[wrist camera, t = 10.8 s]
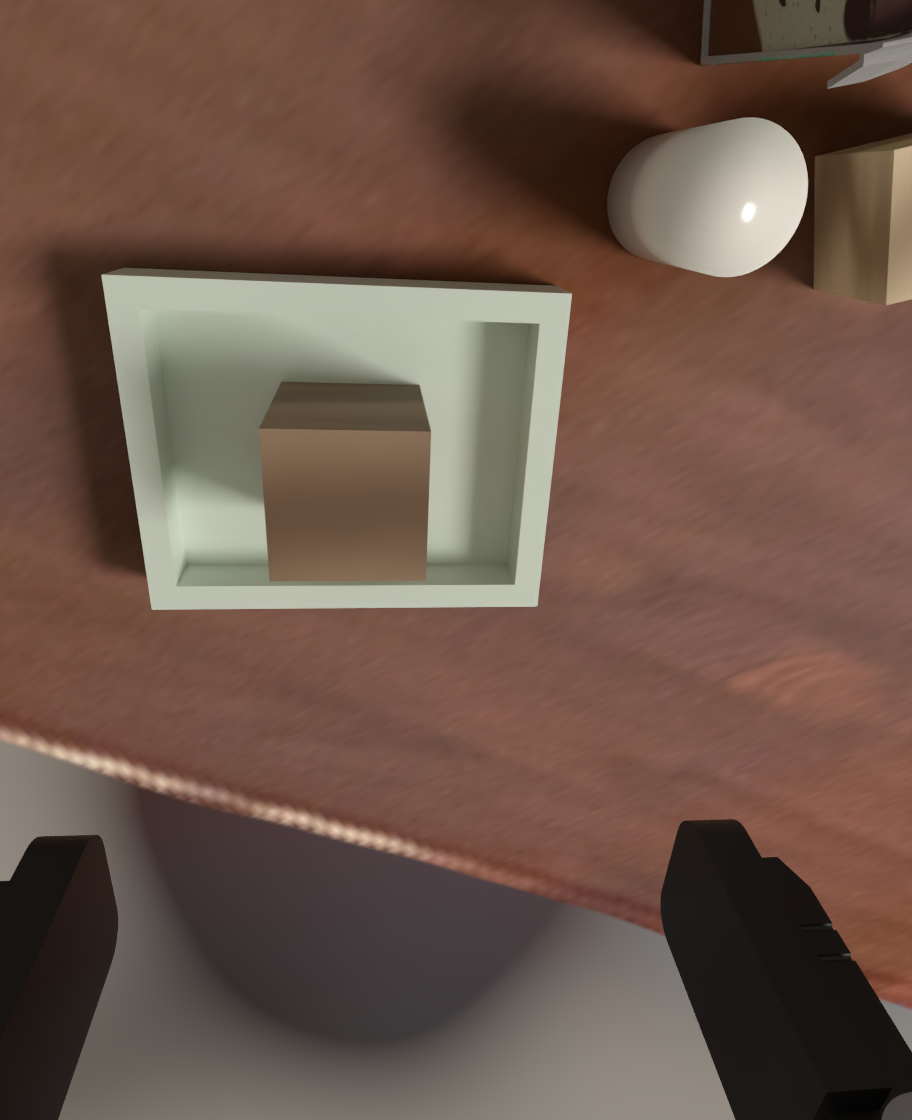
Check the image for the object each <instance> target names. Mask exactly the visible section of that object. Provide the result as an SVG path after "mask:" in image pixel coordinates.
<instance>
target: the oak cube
mask: <svg viewBox="0 0 912 1120" xmlns="http://www.w3.org/2000/svg"><path fill="white" fill-rule="evenodd" d="M814 290H819V291H823V292H828V293H833V294H837V295H842V296H846V297H851V298H855V299H860V300H864V301H869V302H873V303H878V304H882V305H889V304H894V303H898V302H902V301H906V300H910V299H912V133H910V134H906V135H902V136H898V137H893V138H889V139H885V140H881V141H877V142H873V143H869V144H864V145H860V146H856V147H852V148H848V149H844V150H839V151H835V152H831V153H827V154H823V155H819V156H815V200H814Z"/></svg>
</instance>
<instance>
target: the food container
mask: <svg viewBox="0 0 912 1120" xmlns="http://www.w3.org/2000/svg"><path fill="white" fill-rule="evenodd" d="M848 54H860V59H859V61H857V62H856V63H854V64H853V65H851V66H850V67H848V68H847V69H845V70H844V71H842V72H841V73H839V74H838V75H836V76H835V77H833V78H832V79H830V80H829V81H827V89H829V88H834V87H839V86H844V85H850V84H855V83H860V82H865V81H867V80H870V79H873V78H875V77H878V76H881V75H883V74H886V73H889V72H891V71H894V70H897V69H899V68H902V67H905V66H906V65H908V64H910V63H912V0H704V11H703V29H702V48H701V66H704V65H717V64H730V63H743V62H756V61H769V60H783V59H796V58H809V57H822V56H835V55H848Z"/></svg>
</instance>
